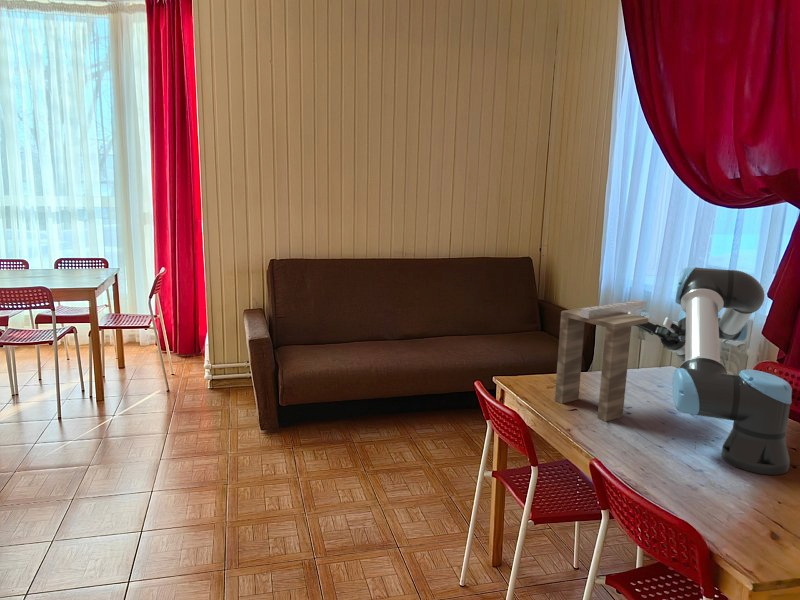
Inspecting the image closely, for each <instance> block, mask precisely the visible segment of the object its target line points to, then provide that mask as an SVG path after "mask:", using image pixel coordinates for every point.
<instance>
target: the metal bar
mask: <svg viewBox="0 0 800 600" xmlns="http://www.w3.org/2000/svg"><path fill="white" fill-rule="evenodd" d="M595 306H596V305H595ZM588 307H589V308H585V307H582V308H583V309H581V317H584V318H588V319H590V318H596V317H602V316H608V315H614V314H620V313H628V312H632V311H634V312H636V311H641V310H646V309H647V301H645V300H640V299H636V300H629V301H624V302H617V303H611V304H604V305H597V306H596V307H592V306H588Z"/></svg>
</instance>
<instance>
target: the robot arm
mask: <svg viewBox="0 0 800 600" xmlns="http://www.w3.org/2000/svg"><path fill="white" fill-rule="evenodd" d="M678 279H679V280H678V283H677V288H676V294H675V303H676V304H677V305H680V307H681V309H682V310H681V311H680V312H679V314H678V321H677V322H678V323H677V324H676V323H675V322H674V321H673V320H671V318H669V317H665V319H664V321H663V323H662V325H659V324H654V323H652V322H649V321H648V323H645V324H639V325H634V327H637V328H639V329H641V330H642V331H644V332H647V333H648V334H649V335H651V336H656V337H658V338H659V339H660V343H661V344H662V345H663V347H665V348H666V349H668V350H669V351H671V353H673V355H674V356H676V357H678V358H679V359H680V360H681V361H682V363H681V364H680V365H679V367H678V368H675V369H674V370H673V374H672V397H673V398H672V400H673V404H674V407H675V409H676V410H677V411H678V412H679V413H682V414H687V415H691V416H695V417H696V416H700V417H708V418H713V419H720V420H727V421H733V424H732V428H731V430H730V432H729V434H728V436H727V437H726V439H725V441H724V443H723V445H722V447H721V457H722V458H723V460H725V461H726V462H727V463H729V464H730V465H731V466H734V467H735V468H738V469H741V470H744V471H747V472H750V473H751V472H752V473H755V474H758V475H759V474H760V475H769V476H770V475H771V476H773V475H777V476H778V475H783V474H785V473H788V471H789V469H790V463H791V460H790V455H789V451H788V447H787V442H786V435H787V433H786V432H787V428H788V421H789V415H790V409H791V404H792V395H793V393H792V392H793V389H792V386H791V384H790V383H789V382H788V381H786V380H785V379H783V378H781V377H779V376H777V375H775V374H772V373H769V372H765V371H760V370H756V369H742V370H740V372H739V374H738V375H734V374H729V373H728V371H727V369H726V366H725V365H724V364H723V363H722V362H721V356H720V355H721V354H720V353H721V351H720V350H721V349H720V340H724V341H725V340H727V341H733V342H735V341H739V342H740V341H741V342H744V341H745V340H746V339H747V335H748V327H749V326H748V325H749V324H748V320H749V319H750V317H751V315H752V314H754V313H756V312H757V311H759V309H760V308H761V307H762V306H763V304H764V302H765V291H764V288H763V286H762V285H761V283H760V282H759V281H758V280H757V279H756V278H755V277H754V276H752V275H751V274H748V273H747V272H745V271H741V270H737V269H736V270H734V269H733V270H732V269H719V268H705V267H696V266H695V267H684V268H683V269H681V271H680V275H679V278H678ZM723 309H724V311H723V313H722V315H721V316H720V317H719V313H720V312H721V311H722V310H723ZM627 313H628V314H632V315H637V316H640V315H639V314H637V313H636V311H632V312H627Z"/></svg>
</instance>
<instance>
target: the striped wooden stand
mask: <svg viewBox="0 0 800 600" xmlns="http://www.w3.org/2000/svg"><path fill="white" fill-rule="evenodd" d="M589 307H590V306H585V307H579V308H572V309H566V310H562V311H561V312H560V323H559V339H558V353H557V363H556V379H555V381H556V382H555V391H554V394H555V395H554V401H555V402H557V403H559V404H566V403H569V402H572V401H573V402H575V401H578V400H579V399H580V398H579V397H580V386H581V385H580V384H581V374H582V373H581V372H582V363H583V358H582V357H583V350H584V349H583V347H584V337H585V326H586V325H585V323H588V324H592V325H596V326H600V327H604V328H605V329H604V330H605V331H604V341H603V351H602V352H603V353H602V365H601V376H600V384H599V385H600V388H599V398H598V411H597V420H601V421H604V422H610V421H612V420H616V419H619V418H622V417H623V415H624V406H625V397H626V396H625V395H626V386H627V385H626V384H627V377H628V375H627V374H628V366H629V365H628V364H629V355H630V354H629V353H630V343H631V333H632V327H633V326H634V325H639V324H645V323H648V322H649V317H645V316H642V315H641V316H640V315H639V316H637V315H638V314H637V315H632V314H628V312H626V313H620V314H614V315H608V316H602V317H596V318H590V319H588V318H584V317H581V309H583V308H589ZM591 307H596V305H594V306H591ZM634 327H635V326H634Z"/></svg>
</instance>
